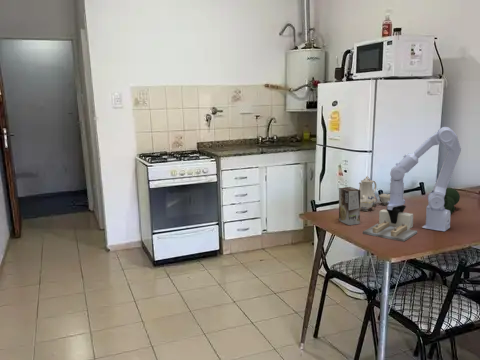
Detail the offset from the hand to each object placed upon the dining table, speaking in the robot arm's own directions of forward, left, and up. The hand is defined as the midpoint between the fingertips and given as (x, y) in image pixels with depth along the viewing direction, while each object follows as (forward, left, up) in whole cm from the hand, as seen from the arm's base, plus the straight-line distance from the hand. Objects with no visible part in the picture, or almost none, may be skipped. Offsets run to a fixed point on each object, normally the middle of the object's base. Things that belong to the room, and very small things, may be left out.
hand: (395, 222), depth 197 cm
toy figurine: (-10, -37, -2) cm, 38 cm away
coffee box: (+19, +8, -2) cm, 21 cm away
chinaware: (+25, -26, -2) cm, 36 cm away
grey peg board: (-3, +13, -1) cm, 13 cm away
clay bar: (0, 0, -2) cm, 2 cm away
